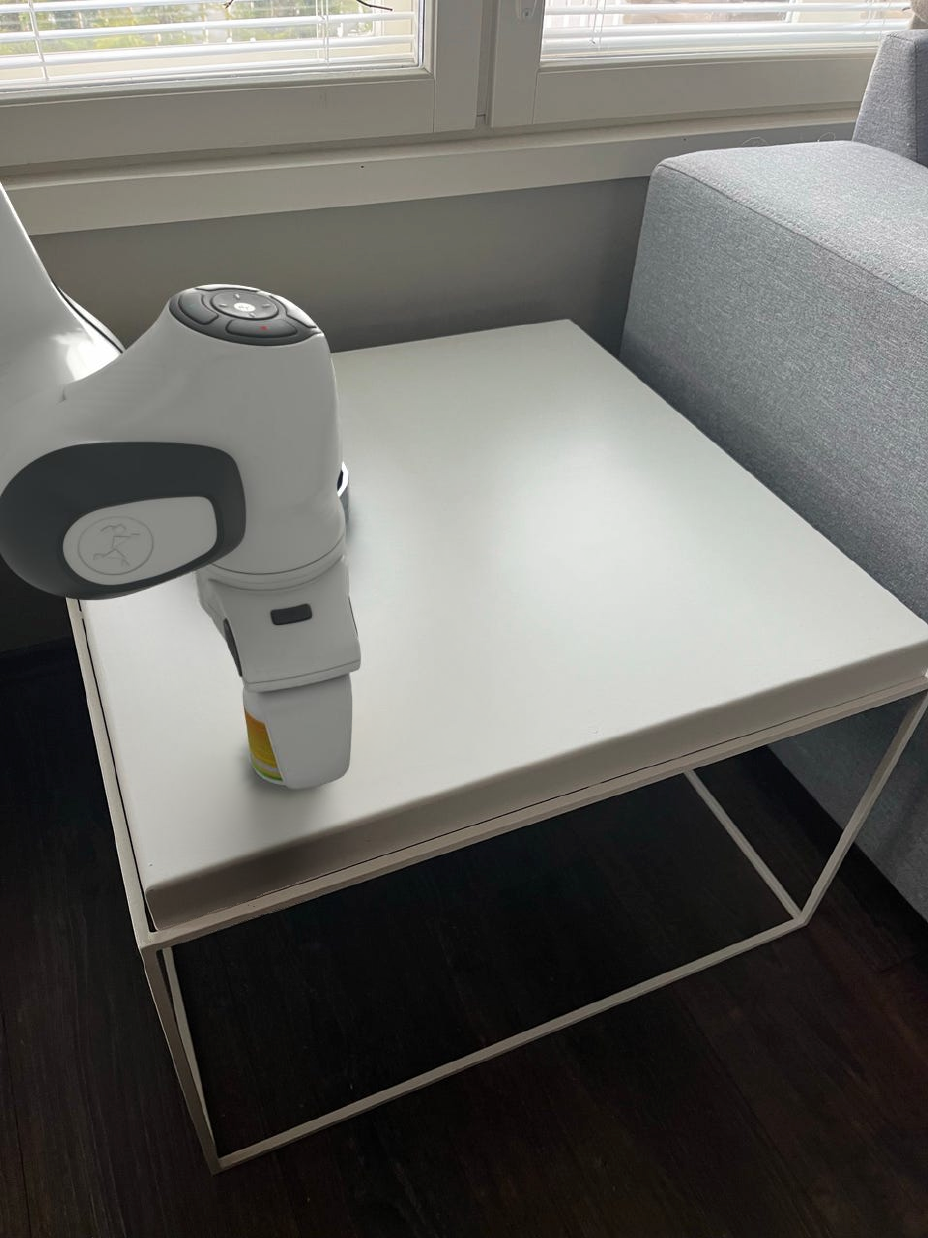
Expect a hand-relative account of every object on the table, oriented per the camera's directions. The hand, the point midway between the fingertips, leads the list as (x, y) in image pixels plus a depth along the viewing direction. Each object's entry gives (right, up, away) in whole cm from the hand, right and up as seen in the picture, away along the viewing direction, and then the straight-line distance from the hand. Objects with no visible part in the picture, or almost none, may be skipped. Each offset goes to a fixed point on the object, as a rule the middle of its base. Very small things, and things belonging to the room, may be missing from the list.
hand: (287, 722), depth 66 cm
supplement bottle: (0, -3, +3) cm, 4 cm away
